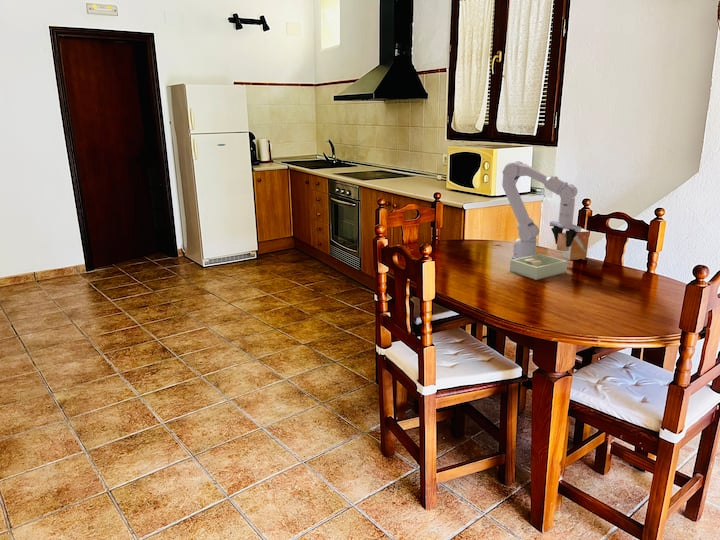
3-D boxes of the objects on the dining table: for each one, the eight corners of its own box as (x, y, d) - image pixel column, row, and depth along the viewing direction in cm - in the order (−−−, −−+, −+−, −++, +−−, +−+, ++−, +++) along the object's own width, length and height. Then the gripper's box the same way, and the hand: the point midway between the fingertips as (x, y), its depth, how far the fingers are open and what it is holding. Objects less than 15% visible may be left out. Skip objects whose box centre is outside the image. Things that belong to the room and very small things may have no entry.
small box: (569, 260, 242) (572, 231, 238) (562, 256, 248) (565, 228, 244) (586, 259, 243) (589, 231, 239) (579, 255, 249) (582, 228, 245)
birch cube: (522, 271, 224) (523, 259, 223) (531, 269, 226) (532, 258, 225) (532, 274, 220) (533, 262, 218) (540, 272, 222) (541, 260, 221)
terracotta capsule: (554, 249, 234) (555, 233, 232) (561, 247, 237) (562, 232, 235) (563, 251, 230) (565, 235, 228) (571, 250, 233) (572, 234, 231)
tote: (509, 271, 226) (510, 259, 225) (539, 264, 235) (540, 253, 234) (536, 279, 215) (537, 267, 214) (566, 272, 224) (567, 261, 222)
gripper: (546, 212, 233) (543, 243, 237) (574, 217, 221) (571, 250, 225) (557, 210, 236) (554, 240, 240) (585, 216, 224) (582, 247, 228)
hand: (563, 245), depth 233 cm, fingers closed on terracotta capsule, 5 cm apart
